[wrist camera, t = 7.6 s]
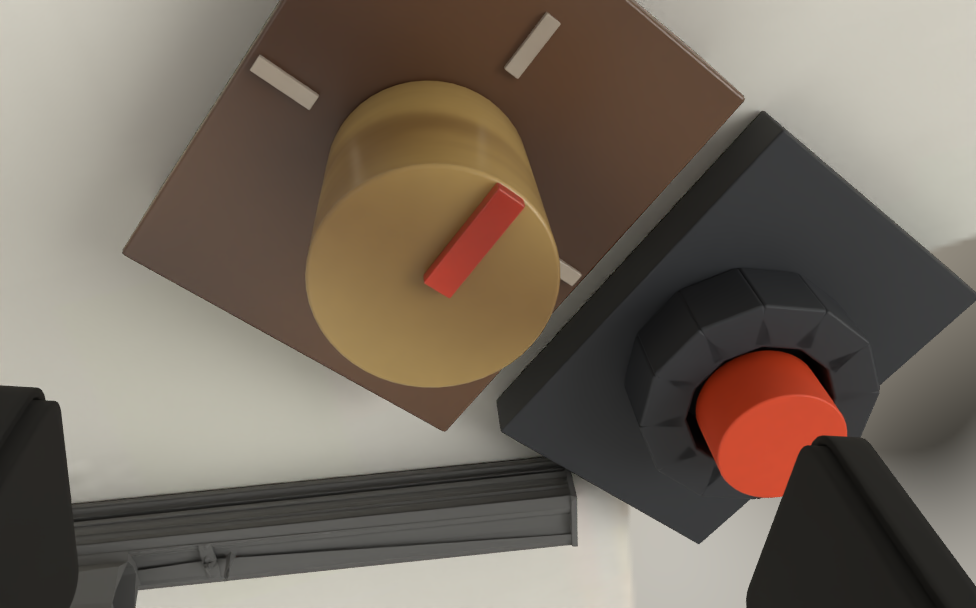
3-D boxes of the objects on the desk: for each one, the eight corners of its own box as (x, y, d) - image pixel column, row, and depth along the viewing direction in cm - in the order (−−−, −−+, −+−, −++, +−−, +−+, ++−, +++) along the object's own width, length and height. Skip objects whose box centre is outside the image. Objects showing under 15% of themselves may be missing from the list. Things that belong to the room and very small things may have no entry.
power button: (753, 466, 24) (779, 516, 23) (669, 414, 23) (690, 462, 21) (840, 387, 23) (875, 434, 22) (757, 327, 22) (786, 372, 20)
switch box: (686, 511, 29) (718, 595, 26) (495, 400, 26) (507, 479, 23) (952, 271, 25) (1025, 336, 22) (762, 109, 22) (817, 159, 19)
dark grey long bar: (565, 432, 27) (590, 531, 24) (566, 496, 29) (591, 599, 25) (-53, 497, 27) (-125, 610, 23) (-22, 560, 28) (-85, 676, 24)
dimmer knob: (451, 300, 21) (462, 436, 17) (288, 201, 19) (252, 322, 15) (568, 156, 19) (616, 264, 15) (401, 36, 18) (400, 117, 13)
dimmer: (441, 368, 26) (445, 438, 23) (152, 200, 22) (117, 257, 20) (707, 61, 22) (750, 101, 19) (404, -196, 18) (404, -193, 16)
